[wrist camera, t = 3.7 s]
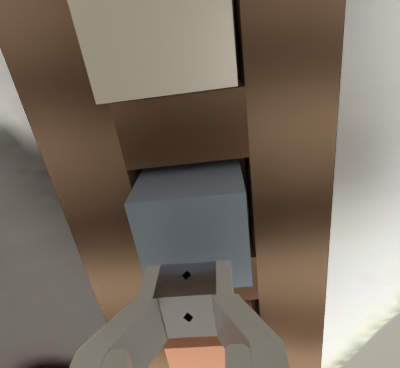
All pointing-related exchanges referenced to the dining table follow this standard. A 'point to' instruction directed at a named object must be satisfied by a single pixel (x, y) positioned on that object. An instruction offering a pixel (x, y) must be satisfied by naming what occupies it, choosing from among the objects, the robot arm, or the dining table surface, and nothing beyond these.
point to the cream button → (155, 46)
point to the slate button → (192, 216)
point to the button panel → (198, 150)
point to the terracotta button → (196, 351)
